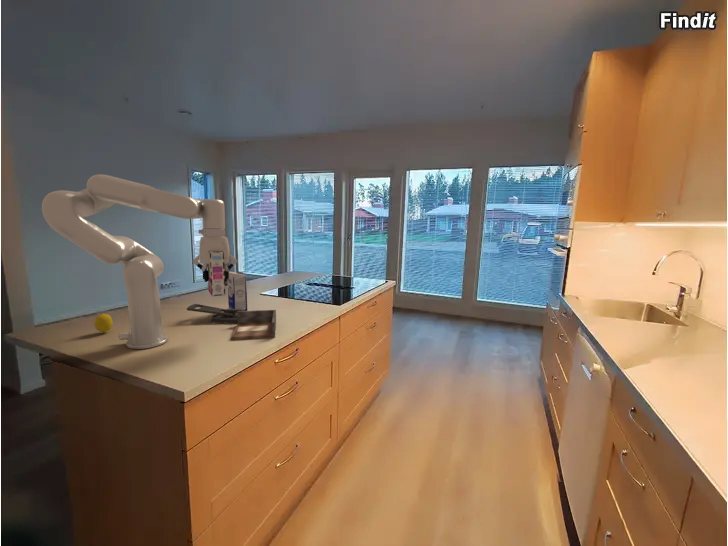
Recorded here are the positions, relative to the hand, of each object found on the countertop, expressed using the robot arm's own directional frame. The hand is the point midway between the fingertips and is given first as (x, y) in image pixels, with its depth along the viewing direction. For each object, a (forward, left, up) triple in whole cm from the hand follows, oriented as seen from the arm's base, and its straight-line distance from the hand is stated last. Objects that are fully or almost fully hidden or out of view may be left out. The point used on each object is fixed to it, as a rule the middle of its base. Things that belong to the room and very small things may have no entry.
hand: (216, 280), depth 122 cm
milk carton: (+2, +37, -23) cm, 43 cm away
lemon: (-44, +12, -23) cm, 51 cm away
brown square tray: (+13, +5, -22) cm, 26 cm away
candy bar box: (0, 0, -5) cm, 5 cm away
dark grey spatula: (-4, +22, -23) cm, 32 cm away
